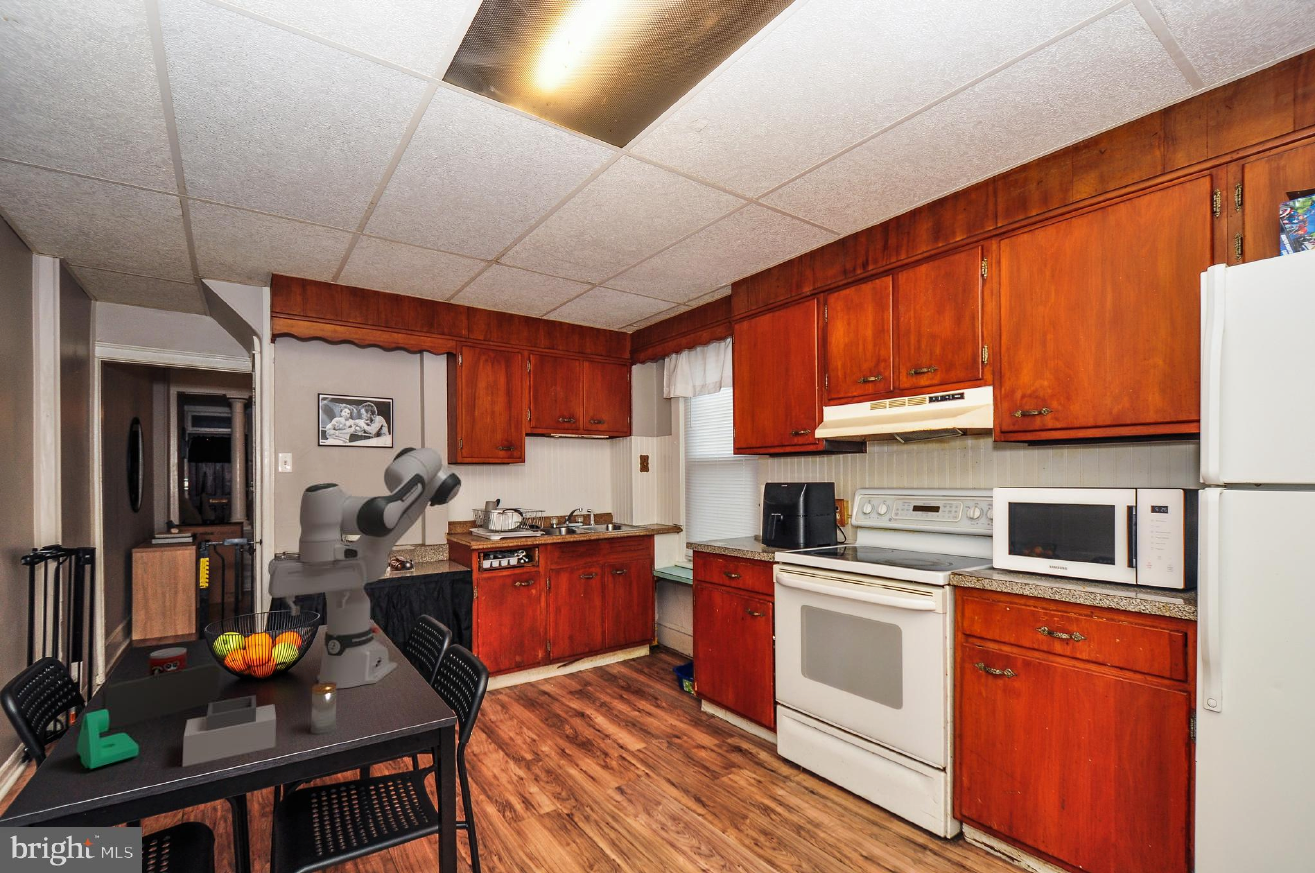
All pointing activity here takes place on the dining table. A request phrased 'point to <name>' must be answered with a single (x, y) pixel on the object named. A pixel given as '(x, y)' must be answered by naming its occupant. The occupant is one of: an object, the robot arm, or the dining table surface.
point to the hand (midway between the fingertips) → (318, 611)
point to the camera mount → (102, 742)
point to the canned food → (167, 660)
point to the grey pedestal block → (229, 730)
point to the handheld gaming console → (160, 694)
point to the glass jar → (323, 708)
